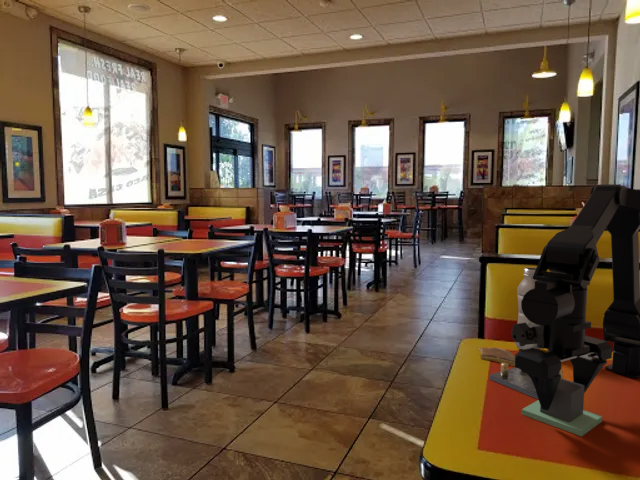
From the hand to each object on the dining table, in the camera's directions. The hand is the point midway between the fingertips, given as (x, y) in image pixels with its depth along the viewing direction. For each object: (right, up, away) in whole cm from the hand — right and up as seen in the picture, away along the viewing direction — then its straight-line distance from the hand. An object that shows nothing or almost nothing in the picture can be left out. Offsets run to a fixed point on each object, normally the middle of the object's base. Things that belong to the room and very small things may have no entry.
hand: (561, 403), depth 84 cm
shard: (+1, 0, +30) cm, 30 cm away
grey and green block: (0, -3, 0) cm, 3 cm away
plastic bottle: (+9, +1, +36) cm, 37 cm away
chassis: (+1, -1, +15) cm, 15 cm away
